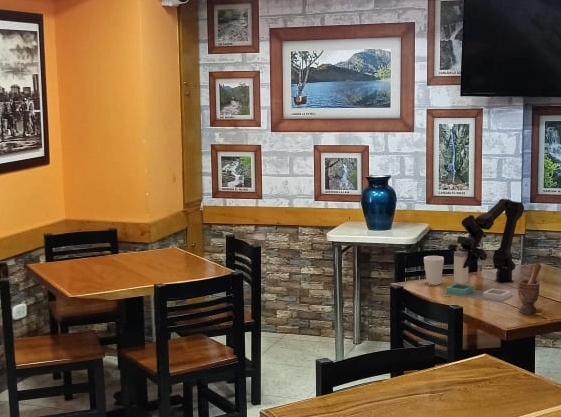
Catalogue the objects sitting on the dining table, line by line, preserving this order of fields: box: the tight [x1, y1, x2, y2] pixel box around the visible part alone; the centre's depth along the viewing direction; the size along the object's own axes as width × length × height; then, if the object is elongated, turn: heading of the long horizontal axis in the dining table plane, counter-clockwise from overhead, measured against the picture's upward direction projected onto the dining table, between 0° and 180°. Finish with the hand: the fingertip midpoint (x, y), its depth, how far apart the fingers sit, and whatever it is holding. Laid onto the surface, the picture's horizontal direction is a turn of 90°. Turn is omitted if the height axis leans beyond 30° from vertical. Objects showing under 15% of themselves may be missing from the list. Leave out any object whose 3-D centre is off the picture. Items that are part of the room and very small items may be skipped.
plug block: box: [453, 250, 469, 284], centre depth 369 cm, size 4×4×14 cm
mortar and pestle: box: [517, 262, 542, 315], centre depth 339 cm, size 12×9×20 cm
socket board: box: [442, 282, 515, 304], centre depth 366 cm, size 28×14×4 cm, turn 51°
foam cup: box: [423, 255, 445, 284], centre depth 390 cm, size 10×9×13 cm
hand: (459, 267), depth 368 cm, fingers closed on plug block, 4 cm apart
